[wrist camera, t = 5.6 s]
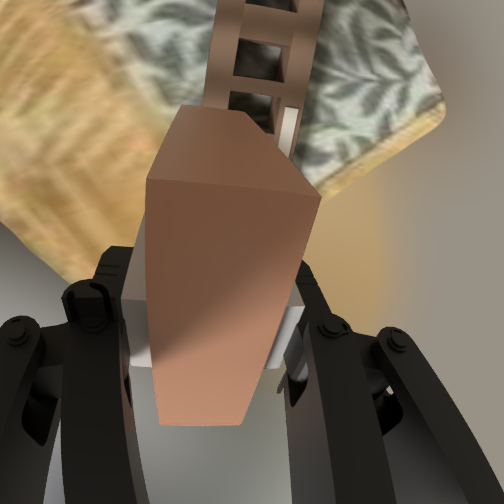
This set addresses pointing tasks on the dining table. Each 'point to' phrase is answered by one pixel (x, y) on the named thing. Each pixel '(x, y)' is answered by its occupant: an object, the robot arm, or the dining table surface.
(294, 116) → the brown compartment rack
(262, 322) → the pink u-shaped block
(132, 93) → the dining table surface
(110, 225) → the dining table surface
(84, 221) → the dining table surface
